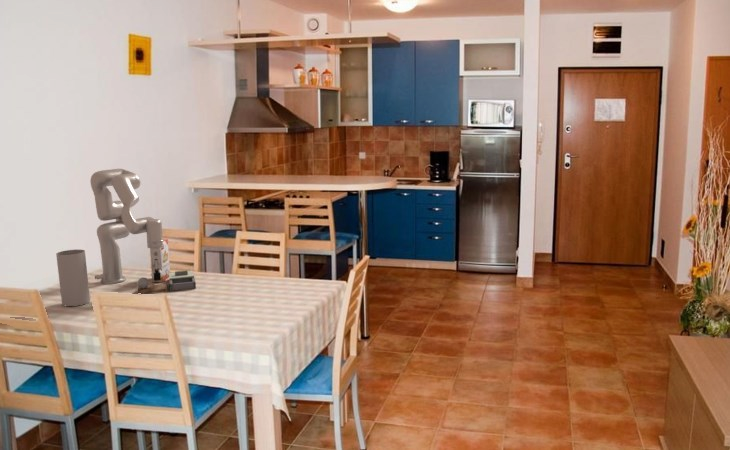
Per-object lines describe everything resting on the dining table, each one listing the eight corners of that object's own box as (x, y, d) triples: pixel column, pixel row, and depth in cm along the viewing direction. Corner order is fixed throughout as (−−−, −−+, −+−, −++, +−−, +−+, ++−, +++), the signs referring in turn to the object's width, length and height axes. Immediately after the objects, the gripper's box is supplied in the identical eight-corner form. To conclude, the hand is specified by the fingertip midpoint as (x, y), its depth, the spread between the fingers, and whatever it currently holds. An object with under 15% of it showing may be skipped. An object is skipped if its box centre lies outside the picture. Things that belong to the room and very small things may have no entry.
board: (137, 294, 340) (137, 291, 340) (138, 289, 350) (137, 286, 350) (166, 291, 344) (166, 288, 344) (166, 286, 354) (166, 283, 354)
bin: (170, 291, 344) (170, 284, 343) (169, 279, 367) (168, 273, 367) (195, 288, 348) (195, 281, 347) (193, 277, 371) (192, 271, 370)
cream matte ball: (151, 281, 344) (150, 270, 343) (151, 278, 349) (150, 268, 348) (163, 280, 346) (162, 270, 345) (162, 277, 351) (162, 267, 350)
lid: (169, 279, 353) (169, 274, 352) (168, 273, 365) (168, 269, 364) (194, 276, 356) (193, 272, 356) (192, 271, 368) (192, 266, 368)
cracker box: (163, 282, 362) (160, 243, 358) (152, 282, 362) (148, 244, 358) (171, 275, 376) (168, 238, 372) (160, 276, 376) (157, 238, 372)
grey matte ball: (137, 290, 342) (136, 279, 341) (138, 287, 347) (137, 276, 346) (149, 289, 344) (148, 278, 343) (149, 286, 349) (148, 275, 348)
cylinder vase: (63, 308, 320) (57, 256, 316) (61, 302, 331) (55, 251, 327) (91, 304, 326) (86, 253, 321) (88, 298, 337) (83, 248, 332)
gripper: (163, 247, 337) (165, 282, 340) (162, 239, 353) (164, 273, 357) (147, 248, 335) (149, 283, 338) (147, 240, 351) (149, 274, 354)
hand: (157, 278), depth 347 cm, fingers closed on cream matte ball, 5 cm apart
